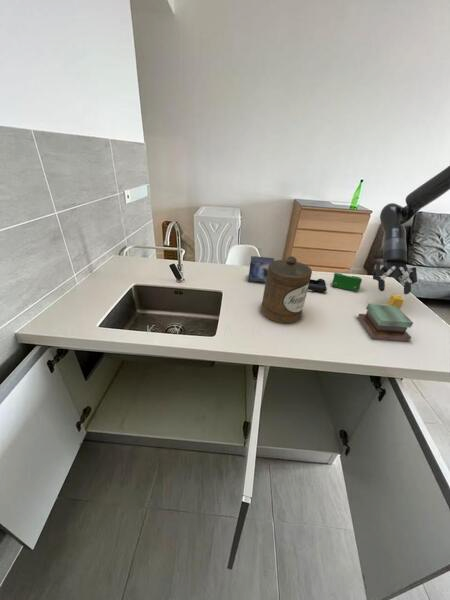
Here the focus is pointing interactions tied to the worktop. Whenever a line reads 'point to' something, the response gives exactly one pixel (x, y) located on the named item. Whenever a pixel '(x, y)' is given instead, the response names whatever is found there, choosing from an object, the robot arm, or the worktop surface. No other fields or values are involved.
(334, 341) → the worktop surface
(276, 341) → the worktop surface
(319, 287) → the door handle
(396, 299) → the bar
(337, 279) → the green block
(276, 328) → the worktop surface
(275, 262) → the wooden container
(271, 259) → the small box
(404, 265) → the robot arm
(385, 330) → the two-tone stepped base
